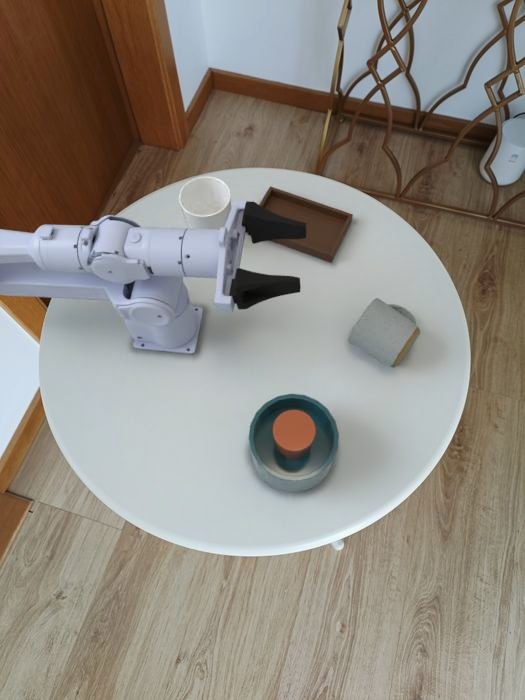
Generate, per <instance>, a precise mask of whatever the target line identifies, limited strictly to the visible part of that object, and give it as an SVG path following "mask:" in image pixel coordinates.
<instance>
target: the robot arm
mask: <svg viewBox="0 0 525 700" xmlns="http://www.w3.org/2000/svg"><path fill="white" fill-rule="evenodd" d="M246 234H247V236H250V238H251V243H252V244H253V245H255V244H259V243H262V242H266V241H268V242H269V240H275V239H303V238H306V223H304V222H300V221H296V220H292V219H289V218H286V217H283V216H280V215H277V214H275V213H273V212H271V211H269V210H267V209H265V208H263V207H261V206H260V205H259V204H258V203H257V202H256V201H248V200H247V201H245V200H233V201H232V202H231V211H230V214H229V216H228V219H227V222H226V224H225V227H221V228H220V229H188V227H187V228H183V227H182V228H181V227H180V228H179V227H150V226H148V227H147V226H141V225H140V224H139V223H138V222H136V221H134V220H132V219H130V218H128V217H124V216H120V215H112V214H108V215H105V216H102V217H101V218H99V219H98V220H93V221H92V222H90V223H89V225H83V224H82V225H81V224H80V225H79V224H76V225H74V224H47V223H46V224H42V225H40V226H38V228H37V229H36V230H35V231H34V232H27V231H19V230H10V229H4V228H3V229H2V228H0V296H7V297H8V296H10V297H27V298H28V297H30V298H49V299H50V298H51V299H66V300H67V299H70V300H71V299H72V300H86V301H87V300H88V301H90V300H91V301H108V302H110V303H111V305H112V307H113V309H114V310H115V312H116V313H117V314H118V316H120V317H121V318H123V321H124V324H125V327H126V328H127V330H128V332H129V333H130V336H131V337H132V339H133V345H132V346H133V348H134V349H136V350H137V349H138V350H147V351H158V352H167V353H176V354H188V355H193V354H195V353H196V350H197V345H198V339H199V335H200V329H201V324H202V319H203V314H204V309H203V307H201V306H193V305H192V301H191V299H190V298H191V297H190V294H189V292H188V291H189V290H188V288H187V285H186V284H185V282H184V278H199V279H200V278H201V279H216V283H215V284H216V285H215V294H214V299H213V304H214V306H215V309H216V312H219V313H234V312H235V306H236V307H237V310H248V309H250V308H251V307H253V306H255V305H258V304H260V303H263V302H265V301H267V300H270V299H274V298H278V297H283V296H287V295H292V294H298V293H301V288H302V287H301V277H299V276H295V275H294V276H293V275H282V274H281V275H280V274H266V273H261V272H256V271H251V270H247V269H244V268H241V261H242V255H243V249H244V243H245V237H246Z"/></svg>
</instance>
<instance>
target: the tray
mask: <svg viewBox="0 0 525 700" xmlns="http://www.w3.org/2000/svg"><path fill="white" fill-rule="evenodd" d="M258 205H260V206H261V207H263V208H265V209H267V210H269V211H271V212H273V213H275V214H277V215H280V216H283V217H286V218H289V219H292V220H296V221H300V222H304V223H306V238H303V239H275V240H268V242H272V243H275V244H277V245H280V246H284V247H286V248H289V249H291V250H295V251H297V252H300V253H302V254H305V255H308V256H310V257H314V258H316V259H319V260H323V261H325V262H327V263H330V264H332V263H333V261H334V259H335V257H336V255H337V253H338V251H339V250H340V247H341V245H342V243H343V240H344V238H345V237H346V236H347V235H346V234H347V232H348V231H349V229H350V226H351V224H352V222H353V217H354V214H353V213H351V212H347V211H344V210H341V209H338V208H335V207H332V206H330V205H326V204H324V203H321V202H318V201H315V200H312V199H309V198H306V197H303V196H300V195H297V194H294V193H291V192H289V191H285V190H282V189H280V188H277V187H274V186H271V185H270V186H269V187H268V189H267V191H266V193H265V194H264V196H263V197H262V199H261V200H260V203H259V204H258Z"/></svg>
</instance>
